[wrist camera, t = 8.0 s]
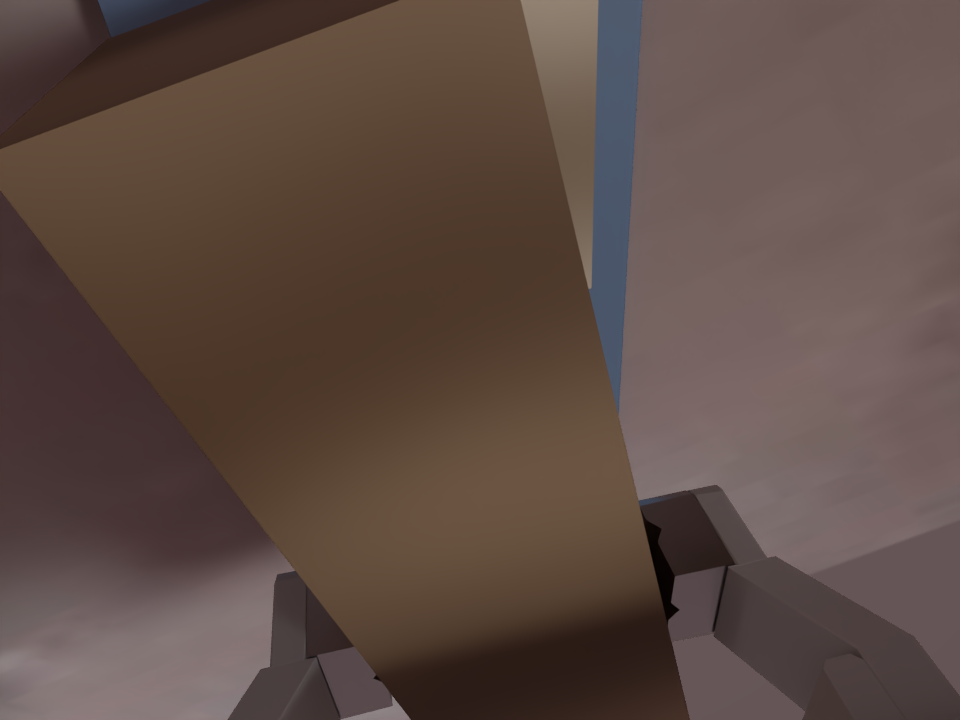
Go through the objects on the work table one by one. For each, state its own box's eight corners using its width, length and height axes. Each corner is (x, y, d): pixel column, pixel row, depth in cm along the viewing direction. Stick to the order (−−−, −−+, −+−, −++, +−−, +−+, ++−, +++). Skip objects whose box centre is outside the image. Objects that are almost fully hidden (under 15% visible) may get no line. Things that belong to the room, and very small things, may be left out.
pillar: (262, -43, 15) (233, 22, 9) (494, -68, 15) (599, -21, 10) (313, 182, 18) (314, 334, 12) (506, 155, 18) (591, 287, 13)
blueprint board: (43, -177, 13) (33, -178, 13) (644, -228, 15) (655, -230, 14) (296, 538, 26) (296, 551, 26) (609, 476, 27) (614, 487, 27)
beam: (106, 39, 8) (-26, 157, 5) (432, -83, 8) (511, -43, 5) (508, 721, 19) (548, 896, 16) (649, 672, 19) (717, 838, 16)
